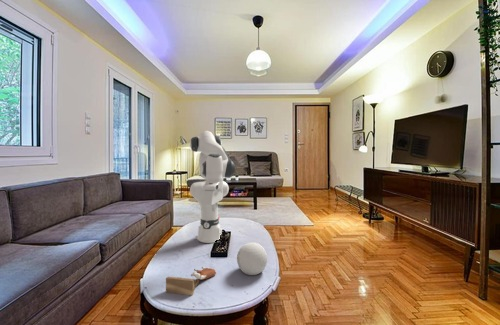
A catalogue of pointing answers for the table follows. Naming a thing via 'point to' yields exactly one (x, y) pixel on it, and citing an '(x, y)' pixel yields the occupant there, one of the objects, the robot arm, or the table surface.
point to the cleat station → (181, 285)
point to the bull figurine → (204, 273)
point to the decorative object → (252, 258)
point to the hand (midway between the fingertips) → (214, 211)
